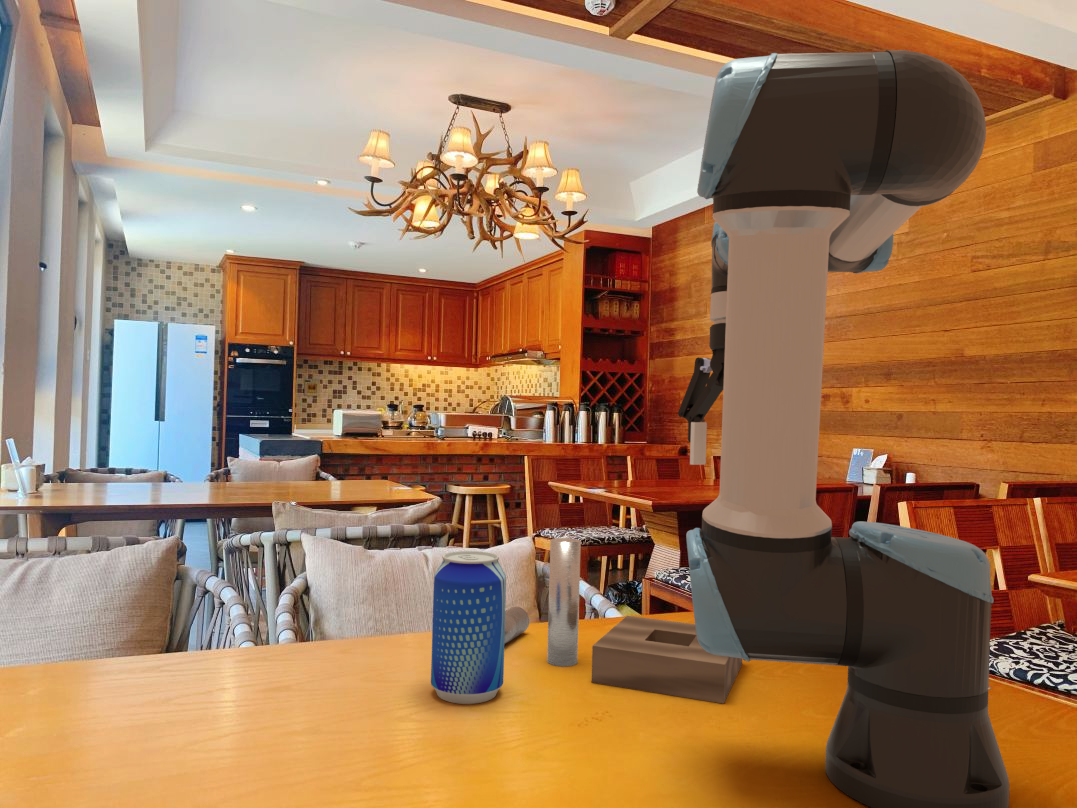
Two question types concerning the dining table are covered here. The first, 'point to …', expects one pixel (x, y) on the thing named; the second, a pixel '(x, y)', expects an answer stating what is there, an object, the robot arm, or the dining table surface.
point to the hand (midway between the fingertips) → (732, 468)
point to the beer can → (468, 627)
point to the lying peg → (515, 623)
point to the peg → (563, 602)
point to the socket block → (662, 660)
